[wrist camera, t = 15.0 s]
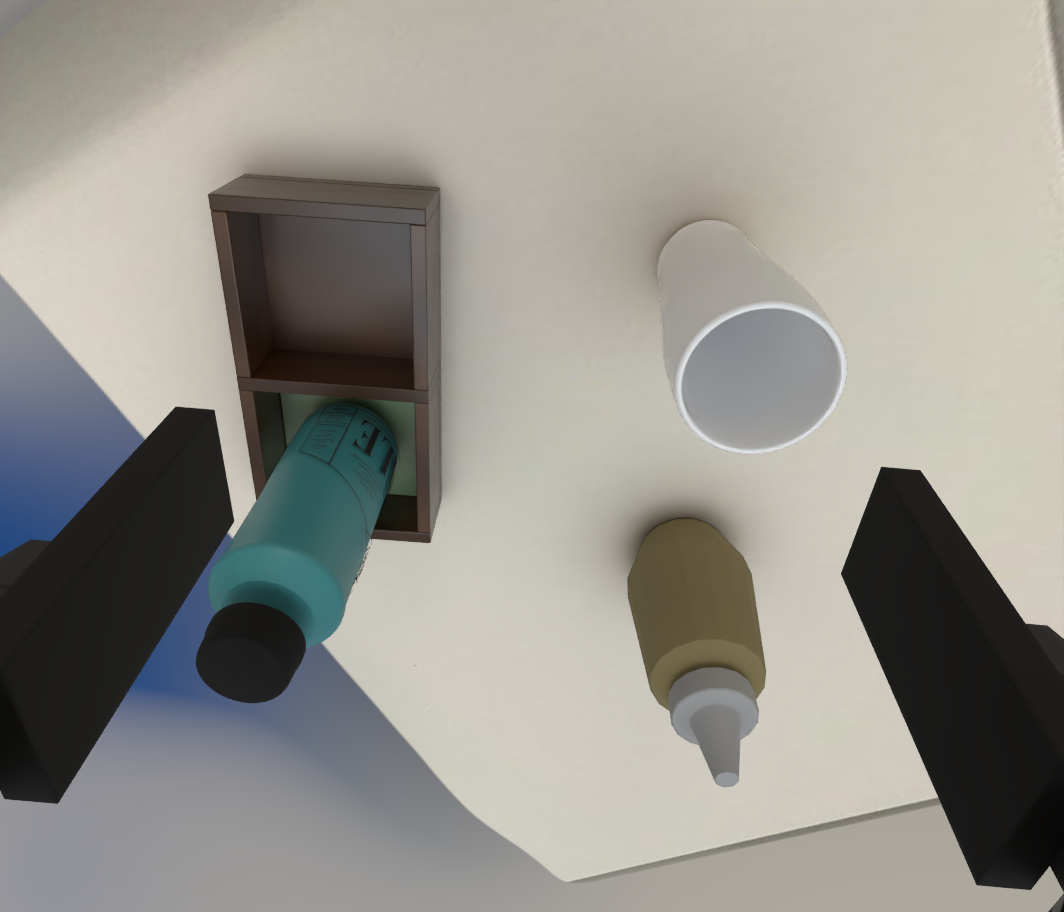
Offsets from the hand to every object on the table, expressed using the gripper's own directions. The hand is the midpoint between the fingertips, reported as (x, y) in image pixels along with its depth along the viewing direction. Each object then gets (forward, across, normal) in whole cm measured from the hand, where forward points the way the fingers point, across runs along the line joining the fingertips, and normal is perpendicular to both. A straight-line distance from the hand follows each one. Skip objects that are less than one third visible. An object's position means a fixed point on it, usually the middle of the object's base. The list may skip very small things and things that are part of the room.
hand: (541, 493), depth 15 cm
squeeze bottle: (+29, +10, -24) cm, 39 cm away
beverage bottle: (+28, -12, -16) cm, 35 cm away
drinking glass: (+30, +8, -4) cm, 31 cm away
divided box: (+29, -12, -12) cm, 34 cm away
